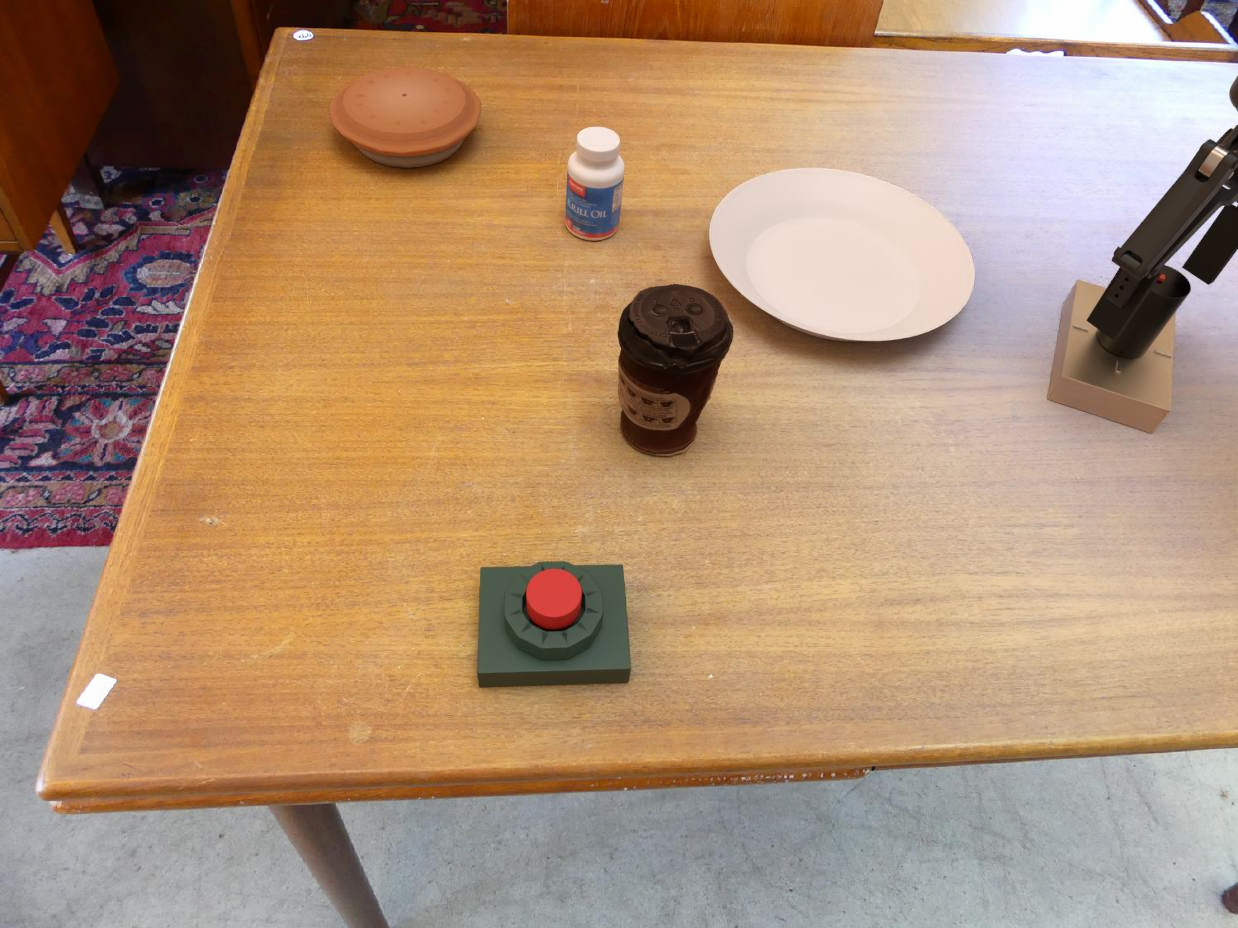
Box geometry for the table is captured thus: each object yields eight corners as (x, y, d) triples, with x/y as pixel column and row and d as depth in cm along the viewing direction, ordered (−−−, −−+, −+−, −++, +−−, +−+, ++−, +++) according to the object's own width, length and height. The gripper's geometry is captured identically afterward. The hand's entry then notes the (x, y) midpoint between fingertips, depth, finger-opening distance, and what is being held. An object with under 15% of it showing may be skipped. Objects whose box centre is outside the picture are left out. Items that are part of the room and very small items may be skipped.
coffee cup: (675, 488, 72) (698, 373, 62) (586, 441, 74) (594, 323, 64) (726, 419, 77) (755, 302, 66) (641, 377, 79) (657, 258, 69)
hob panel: (1151, 433, 79) (1171, 409, 77) (1046, 399, 81) (1062, 374, 78) (1158, 332, 87) (1177, 307, 85) (1063, 302, 89) (1078, 277, 86)
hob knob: (1148, 333, 82) (1194, 270, 77) (1145, 364, 80) (1192, 301, 74) (1098, 317, 83) (1140, 253, 78) (1094, 347, 81) (1136, 284, 75)
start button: (579, 581, 62) (580, 567, 61) (582, 629, 60) (583, 616, 58) (526, 582, 62) (526, 568, 60) (526, 630, 59) (526, 617, 58)
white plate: (997, 263, 92) (1011, 234, 89) (898, 412, 78) (912, 384, 76) (778, 168, 99) (785, 139, 97) (654, 289, 86) (658, 259, 83)
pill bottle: (556, 234, 90) (558, 146, 82) (575, 203, 93) (579, 116, 86) (609, 248, 89) (616, 161, 82) (626, 216, 92) (634, 129, 85)
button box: (620, 579, 66) (625, 550, 63) (628, 682, 62) (633, 656, 58) (481, 582, 66) (479, 552, 62) (478, 687, 61) (475, 660, 58)
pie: (352, 93, 103) (345, 50, 99) (490, 105, 103) (489, 62, 99) (319, 174, 93) (309, 130, 89) (471, 187, 94) (468, 144, 90)
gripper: (1268, 136, 54) (1097, 383, 71) (1461, 42, 64) (1271, 278, 81) (1160, 77, 58) (1021, 325, 74) (1358, -4, 68) (1197, 231, 84)
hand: (1151, 301), depth 78 cm, fingers open, 13 cm apart
